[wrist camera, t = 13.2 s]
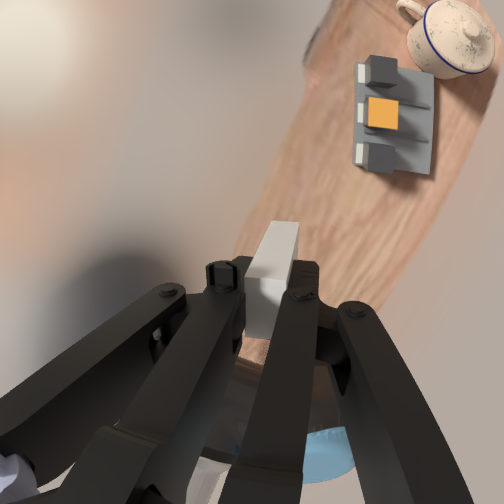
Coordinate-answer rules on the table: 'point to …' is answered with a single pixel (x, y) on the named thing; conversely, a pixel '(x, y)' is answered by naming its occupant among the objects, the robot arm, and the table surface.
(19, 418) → the robot arm
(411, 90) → the panel
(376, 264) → the table surface
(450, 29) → the teacup with lid
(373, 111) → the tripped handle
